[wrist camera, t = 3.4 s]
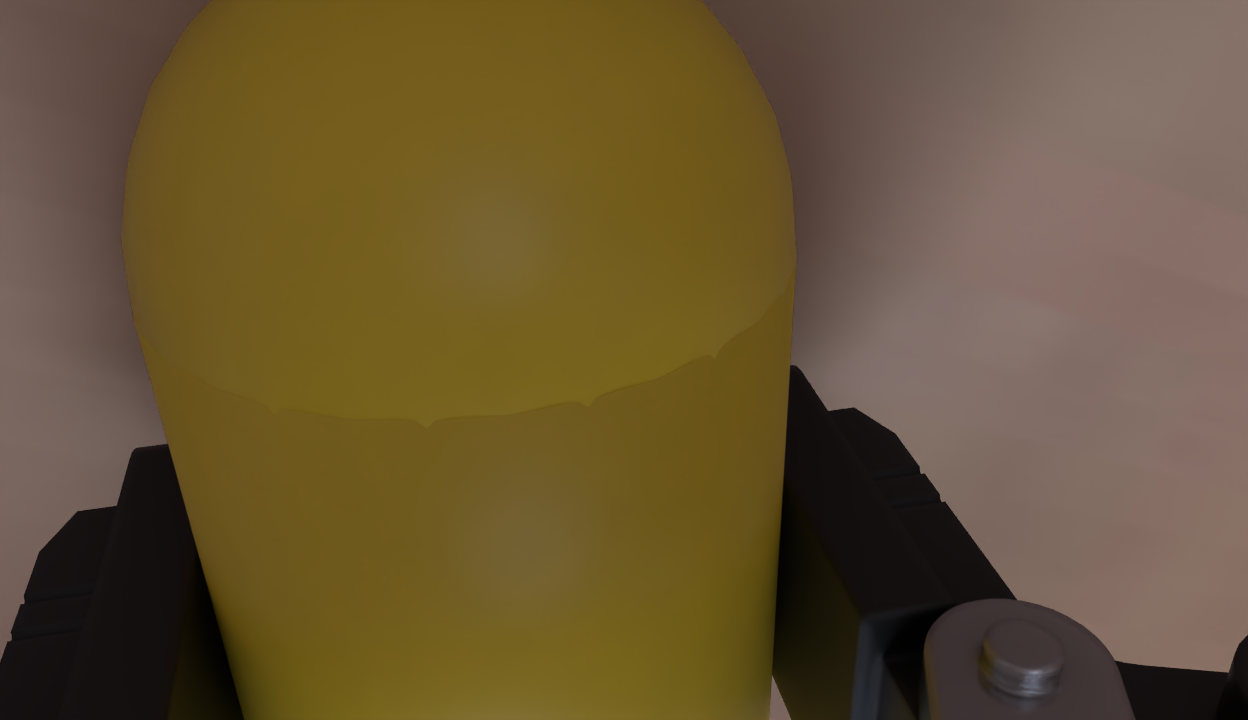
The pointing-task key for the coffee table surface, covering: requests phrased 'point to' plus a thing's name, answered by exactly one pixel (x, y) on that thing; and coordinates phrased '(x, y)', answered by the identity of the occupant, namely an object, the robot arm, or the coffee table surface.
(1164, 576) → the coffee table surface
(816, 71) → the coffee table surface
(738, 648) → the capsule
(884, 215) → the coffee table surface
